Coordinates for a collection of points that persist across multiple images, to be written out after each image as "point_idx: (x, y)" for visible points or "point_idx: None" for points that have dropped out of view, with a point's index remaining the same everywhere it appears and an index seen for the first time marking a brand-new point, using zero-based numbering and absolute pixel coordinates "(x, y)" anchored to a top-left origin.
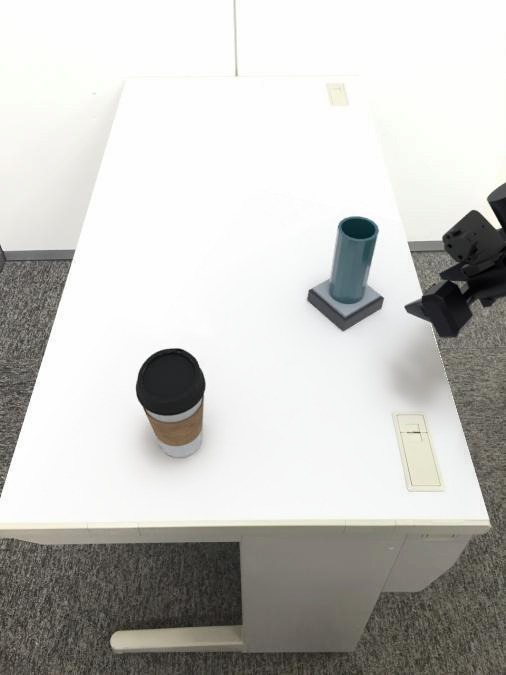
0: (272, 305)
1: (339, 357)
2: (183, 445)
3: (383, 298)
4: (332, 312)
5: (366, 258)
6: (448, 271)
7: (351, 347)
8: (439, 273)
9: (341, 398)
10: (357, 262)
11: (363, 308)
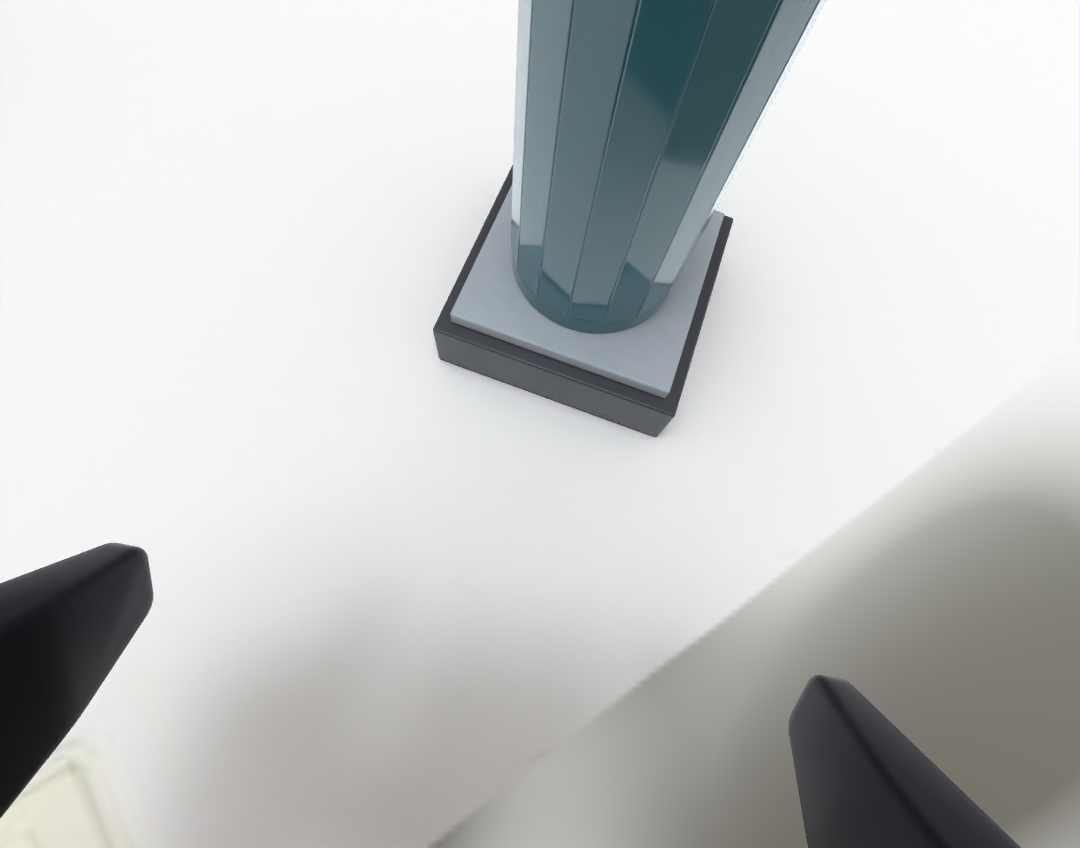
0: (426, 108)
1: (296, 404)
2: None
3: (669, 414)
4: (463, 269)
5: (601, 82)
6: (873, 804)
7: (373, 422)
8: (821, 676)
9: (79, 503)
10: (548, 68)
11: (553, 364)
